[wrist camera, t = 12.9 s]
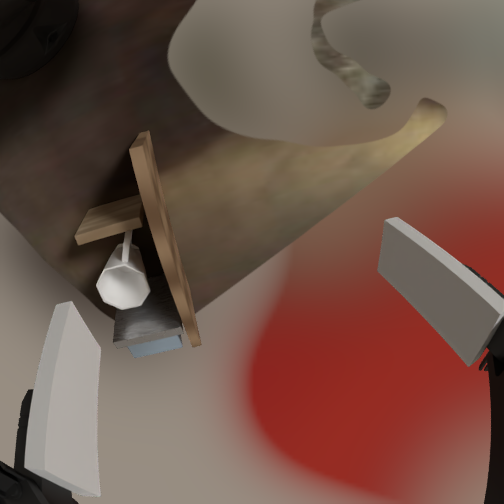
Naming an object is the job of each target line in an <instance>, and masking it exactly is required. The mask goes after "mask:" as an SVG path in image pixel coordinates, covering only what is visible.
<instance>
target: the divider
mask: <svg viewBox="0 0 504 504" xmlns="http://www.w3.org/2000/svg"><path fill="white" fill-rule="evenodd" d="M143 216H144V206H143V202H142V198H141V195H140V194H139V195H135V196H131V197H128V198H124V199H121V200H118V201H114V202H111V203H108V204H104V205H101V206H98V207H95V208H92V209H89V210H88V212H87V214H86V215H85V217H84V219H83V221H82V223H81V225H80V227H79V229H78V230H77V232H76V234H75V239H76V241H77V243H78V245H81V244H85V243H88V242H91V241H94V240H98V239H101V238H105V237H108V236H112V235H115V234H119V233H122V232H126V231H129V230H133V229H136V228H140V227H142V224H143Z"/></svg>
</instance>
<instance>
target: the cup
mask: <svg viewBox="0 0 504 504" xmlns="http://www.w3.org/2000/svg"><path fill="white" fill-rule="evenodd" d="M131 239H132V230H129V231H126V232H125V236H124V243H122V244H118V245H117V247H116V249H115V250H114V252H113V253H112V254H111V256H110V258H109V260H108V262H107V264H106V266H105V268H104V270H103V272H102V274H101V276H100V278H99V280H98V282H97V284H96V287H97V289H98V291H99V293H100V295H101V297H102V299H103V301H104V302H105V303H107V304H110V305H112V306H114V307H116V308H119V309H121V310H124V309H129V308H133V307H138V306H141V305H142V303H143V302H144V300H145V299H146V297H147V296H148V294H149V293H150V287H149V283H148V279H147V274H146V270H145V267H144V264H143V261H142V256H141V253H140V250H139V247H138V246H136V245H134V244H132V243H131Z"/></svg>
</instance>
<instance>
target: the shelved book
mask: <svg viewBox="0 0 504 504" xmlns="http://www.w3.org/2000/svg"><path fill="white" fill-rule="evenodd" d="M181 347H183V346H182V340H181V334H180V335H176V336H172V337H167V338H163V339H159V340H155V341H150V342H146V343H141V344H137V345H132V346H128V349H129V350H130V352H131V353H132V355H133V357H134V358H137V357H142V356H147V355H151V354H155V353H160V352H164V351H169V350H172V349H177V348H181Z"/></svg>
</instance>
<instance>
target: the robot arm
mask: <svg viewBox="0 0 504 504" xmlns="http://www.w3.org/2000/svg"><path fill="white" fill-rule="evenodd" d="M78 7H79V2H78V0H0V79H17V78H21V77H24V76H27V75H29V74H31V73H33V72H35V71H37V70H38V69H40V68H41V67H42V66H44V65H45V64H46V63H47V62H49V61H50V60H51V59H52V58H53V57H54V56H55V55H56V53H57V52H58V51H59V50H60V49H61V47H62V46H63V45H64V43H65V42H66V40H67V39H68V37H69V35H70V33H71V31H72V29H73V27H74V25H75V22H76V19H77V15H78ZM377 271H378V272H379V273H380V274H381V275H382V276H383V277H384V278H385V279H386V280H387V281H388V282H389V283H390V284H391V285H392V286H393V287H394V288H396V290H397V291H398V292H399V293H400V294H401V295H402V296H404V298H405V299H406V300H407V301H408V302H409V303H410V304H411V305H412V306H413V307H414V308H415V309H416V310H417V311H418V312H419V313H420V314H421V315H422V316H423V317H424V318H425V319H426V320H427V321H428V322H429V323H430V325H431V326H432V327H433V328H434V329H435V330H436V331H437V332H438V333H439V334H440V335H441V336H442V338H443V339H444V340H445V341H446V342H447V343H448V344H449V345H450V346H451V347H452V349H453V350H454V351H455V352H456V353H457V354H458V355H459V356H460V358H461V359H462V360H463V361H464V362H465V363H466V365H467V366H468V367H469V366H470V365H471V364H473V363H474V362H475V361H476V360H478V359H479V358H480V357H481V355H482V353H483V352H484V350H485V349H486V347H487V348H488V349H489V352H488V353H487V355H486V356H485V358H484V359H483V361H482V362H481V364H480V366H479V370H482V368H483V367H484V366H485V364H486V363H488V364H487V365H486V367H485V369H484V371H488V372H489V383H490V399H491V447H490V462H489V472H488V481H487V488H486V494H485V500H484V504H504V295H503V294H502V293H501V292H499V291H498V290H497V289H496V288H495V287H494V286H493V285H492V284H490V283H488V282H487V280H486V279H484V278H483V277H481V276H480V274H478V273H477V272H476V271H475V270H473V269H472V268H471V267H468V266H466V265H464V264H462V263H460V262H459V261H458V260H456V259H455V258H454V257H452V256H451V255H449V254H448V253H447V252H446V251H445V250H443V249H442V248H441V247H439V246H438V245H436V244H435V243H434V242H432V241H431V240H430V239H428V238H427V237H425V236H424V235H422V234H421V233H420V232H418V231H417V230H416V229H414V228H413V227H411V226H410V225H408V224H407V223H405V222H404V221H402V220H401V219H399V218H398V217H395V218H391V219H387V220H385V221H384V230H383V237H382V245H381V251H380V258H379V264H378V270H377ZM100 356H101V348H100V346H99V344H98V343H97V341H96V340H95V338H94V337H93V335H92V334H91V332H90V331H89V329H88V327H87V326H86V324H85V323H84V321H83V319H82V318H81V316H80V314H79V313H78V311H77V309H76V308H75V306H74V304H73V303H72V301H69V302H65V303H62V304H57V305H56V307H55V310H54V313H53V317H52V319H51V323H50V326H49V329H48V333H47V336H46V340H45V343H44V347H43V351H42V355H41V359H40V363H39V367H38V372H37V376H36V380H35V385H34V389H31V390H28V391H27V393H26V395H25V397H24V399H23V401H22V405H21V411H20V418H19V424H18V426H19V429H18V431H17V440H16V451H15V463H14V469H13V468H11V467H10V466H8V465H6V464H5V463H3V462H1V461H0V504H78V502H77V501H75V500H74V499H73V498H72V493H71V492H74V493H76V494H78V495H81V496H93V497H101V492H100V481H99V468H98V446H97V406H98V405H97V404H98V403H97V402H98V381H99V368H100V367H99V366H100Z"/></svg>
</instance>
